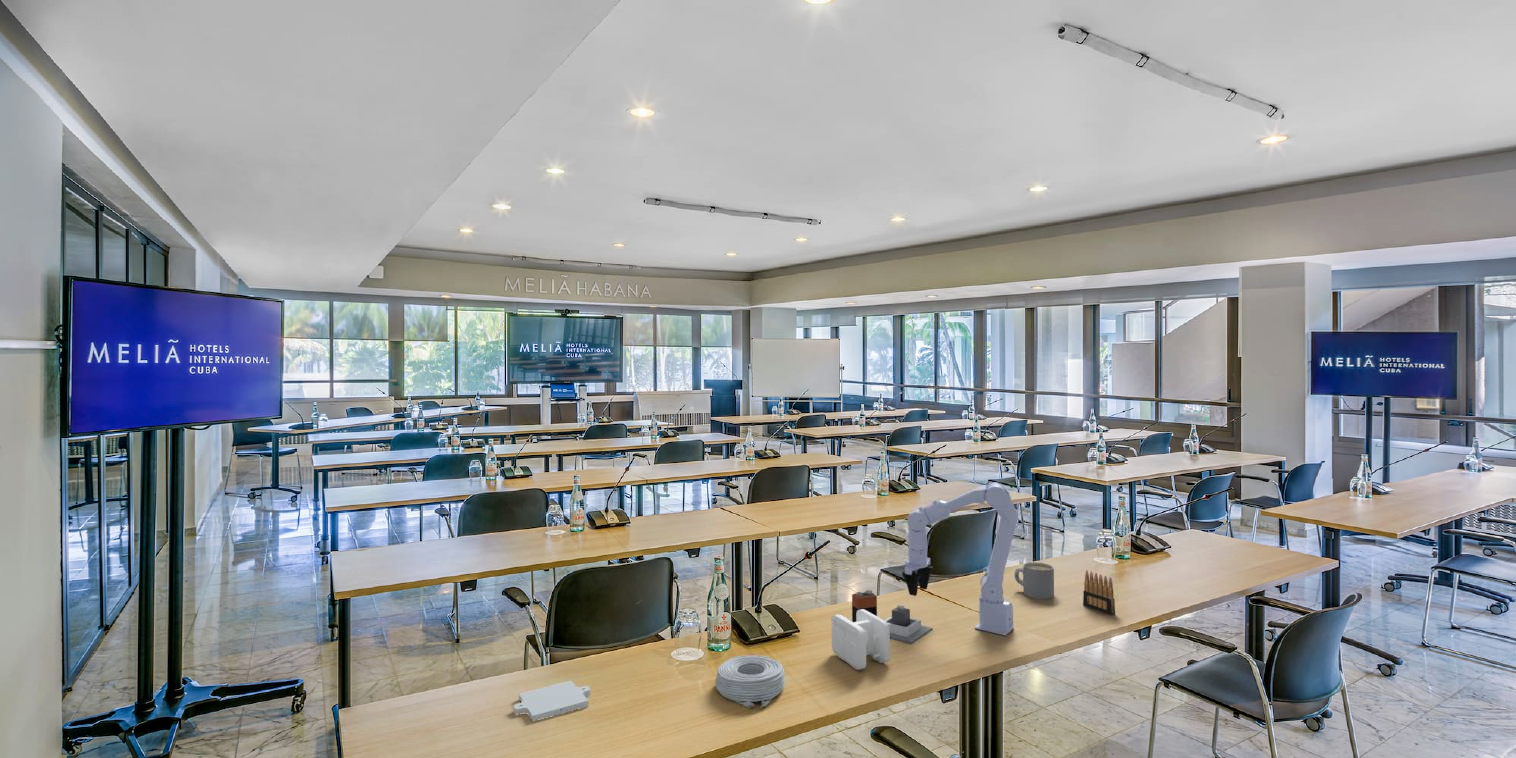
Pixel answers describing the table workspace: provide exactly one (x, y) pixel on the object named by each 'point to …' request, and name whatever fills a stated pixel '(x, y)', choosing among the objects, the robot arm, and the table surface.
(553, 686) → the mounting plate
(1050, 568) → the coffee mug
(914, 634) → the end holder
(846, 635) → the cable organizer
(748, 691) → the cable
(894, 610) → the block
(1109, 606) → the ammunition clip
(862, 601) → the battery
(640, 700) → the table surface
